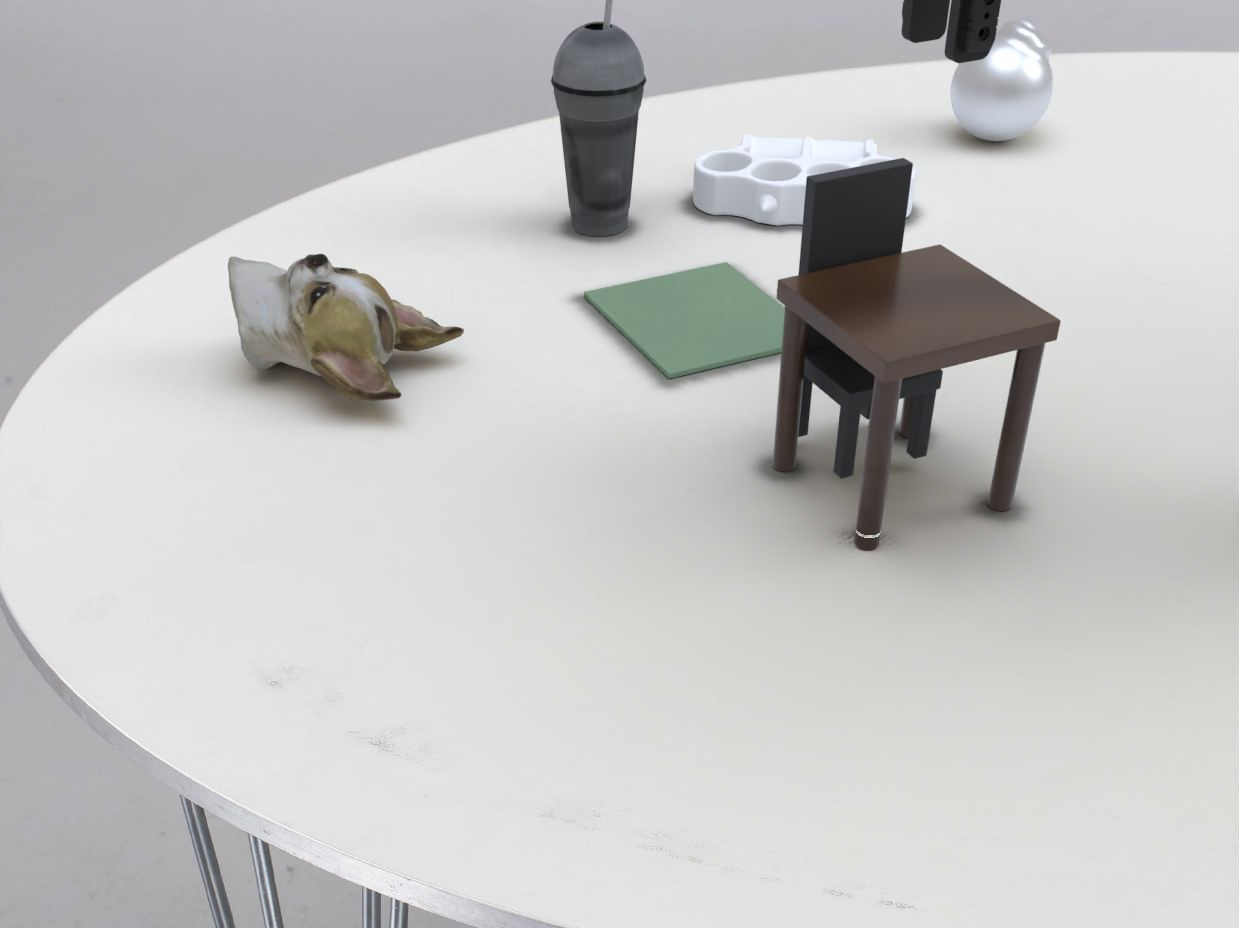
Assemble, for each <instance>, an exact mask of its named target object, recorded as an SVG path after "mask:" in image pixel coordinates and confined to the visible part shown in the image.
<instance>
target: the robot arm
mask: <svg viewBox="0 0 1239 928" xmlns="http://www.w3.org/2000/svg"><path fill="white" fill-rule="evenodd" d="M1001 5H1002V0H903V1H902V9H901V18H902V19H901V20H902V23H901V37H902V38H903V39H905V40H907V41H909V42H911V43H914V44H917V43H918V44H919V43H925V42H930V41H931V42H932V41H936V40H937V41H938V40H939V39H942V38H943V36H944V35H945V34H946V35H945V36H946V38H945V44H944V56H945V58H946V59H948V60H949V61H952V62H954V63H956V64H959V63H964V62H970V61H976V60H981V59H984V58H985V57H986V56H987V55H988V54H989V52H990V49H991V48H992V45H993V43H994V41H995V37H996V32H997V31H998V27H997V26H998V23H999V17H1000V11H1001Z"/></svg>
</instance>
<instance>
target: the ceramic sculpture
mask: <svg viewBox="0 0 1239 928" xmlns="http://www.w3.org/2000/svg"><path fill="white" fill-rule="evenodd" d="M227 272H228V288H229V291H230V298H231V302H232V307H233V311H234V315H235V318H236V321H237V332H238V335H239V339H240V350H241V352H242V354H243V356H244V358H245V359H246V360H247V361H248V362H249V363H250V364H251V365H252V366H253V367H255V368H257V369H260V370H267V369H271V368H272V367H273V366H275V365H276V364H278V363H283V364H286V365H288V366H292V367H295V368H298V369H302V370H304V371H306V372H308V373H311V374H313V375H315V376H318V377H321V378H323V380H324V381H325V382H326V383H327V384H328V385H329V386H330V387H332V388H333V390H335V391H336V392H337V393H339V394H340V395H342V396H344V397H345V398H347V399H349V400H352V401H359V402H360V401H361V402H363V401H364V402H378V401H379V402H380V401H387V400H397V399H400V398H401V396H402V393H401V391H399V389H398V388H397V387H396V386H395V384H394V381H393V379H392V378H391V376H390V373H389V370H388V369H387V367H386V365H385V364H386V363H387V362H388V361H389V359H390V358H391V356H392V355H393V351H394V350H397V351H401V352H421V351H425V350H429V349H432V348H435V347H438V346H441V345H443V344H446V343H448V342H451V341H453V340H455V339H458V338H460V337H462V335H463V334H464V333H465V329H464V328H462V327H459V326H453V325H452V326H442V325H440V324H439V323H438V322H436V321H435V320H434V319H432V318H430V317H429V316H428V317H426V316H425V315H423V313H422V312H421V311H420V310H418V309H416V308H415V307H413V306H410V305H406V304H402V303H401V302H399V301H398V300H396V299H392V298H391V296H390V295H389V293H388V292H387V290H386V288H385V287H384V286H383V285H382V284H381V283H380V282H379V280H377V279H376V278H374V277H373V276H372V275H370V274H368V273H364V272H363V273H362V272H359V271H358V270H357V269H355V268H351V267H350V268H349V267H334V266H333V264H332V262H331V261H330V259H329V258H328V257H327V255H326V254H324V253H317V254H307V255H306V256H305V257H304V258H299V259H296V260H294V262H293V263H292V264H291V265H290V266H288V268H287V269H284V268H282V267H279V266H278V265H275V264H273V263H270V262H268V261H258V260H251V259H243V258H242V257H239V256H230V257H229V258H228V262H227Z"/></svg>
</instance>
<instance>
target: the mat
mask: <svg viewBox="0 0 1239 928" xmlns="http://www.w3.org/2000/svg"><path fill="white" fill-rule="evenodd" d="M583 297H584V299H586V300H587V301H588V302H589V303H590V304H591V305H592V306H593V307H594V308H595V309H596V310H597V311H598V312H599V313H600V314H601V315H602V316H603V317H604V318H605V319H606V320H608V321H609V322H610V323H611V325H613V326H614V327H615V328H616V330H618V331H619V332H620V333H621V334H622V335H623V336H624V338H626V339H627V340H628V341H629V342H630V343H631V344H632V345H633V346H634V347H636V349H638V351H639V352H641V353H642V355H644V356H645V357H646V358H647V359H648V360H649V361H650V362H651V363H652V364H653V365H654V366H655V367H656V368H657V369H658V370H659V371H660V372H661V373H662V374H664V375H665V376H666V378H667V379H669V380H671V379H674V378H679V377H681V376H682V377H683V376H687V375H691V374H695V373H700V372H703V371H707V370H713V369H717V368H720V367H721V368H722V367H724V366H729V365H733V364H737V363H742V362H746V361H750V360H754V359H760V358H763V357H767V356H771V355H776V354H781V351H782V338H783V325H784V313H785V306H783V305H781V304H780V303H779V302H778V301H777V300H775V299H774V298H773V297H771V296H770V295H769V294H767V292H765V291H764V290H763V289H761V288H760V287H759V286H757V285H756V284H755V283H754V282H752V281H751V280H750V279H749V278H748V277H746V276H744V274H743V273H741V272H740V271H738V269H736V268H735V267H733V266H732V265H731V264H729V262H727V261H724V262H721V263H715V264H710V265H706V266H701V267H696V268H691V269H686V270H682V271H677V272H672V273H669V274H668V273H667V274H663V275H658V276H654V277H649V278H645V279H639V280H634V281H629V282H625V283H620V284H615V285H611V286H606V287H601V288H595V289H591V290H588V291H584V292H583Z"/></svg>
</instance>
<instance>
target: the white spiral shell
mask: <svg viewBox="0 0 1239 928" xmlns="http://www.w3.org/2000/svg"><path fill="white" fill-rule="evenodd" d="M1051 54H1052V44H1051V42H1050V41H1049V40H1048V38H1046V37H1045V36H1044V34H1043V33H1042V32H1041V30H1040V29H1039V27H1038V26H1037V25H1036V24H1034V23H1033V22H1032V20H1031V19H1028V18H1017V19H1012V20H1009V21H1007V22H1005V23H1004V24H1002V25H1001V26H1000V28H999V29H997V30H996V37H995V41H994V43H993V45H992V48H991V49H990V52H989V54H988V55H987V56H986V57H985V58H984V59H981V60H976V61H970V62H964V63H957V66H956V69H955V70H954V73H953V76H952V79H951V81H950V82H951V83H950V91H949V93H950V95H949V96H950V104H951V109H952V111H953V114H954V116H955V118H956V120H957V121H958V123H959V125H961V127H962V128H963V129H964V130H965V131H967V132H968V133H969V134H971V135H972V136H974V137H976V138H978V139H981V140H983V141H988V142H1005V141H1010V140H1013V139H1015V138H1016V139H1017V138H1018V137H1020V136H1022V135H1024V134H1026V133H1027V132H1029V131H1030V130H1031V129H1032V128H1033V127H1035V126H1036V125H1037V124H1038V123H1039V121H1040V120H1041V119H1042V118H1043V116H1044V115H1045V113H1046V111H1047V110H1048V107H1049V105H1050V102H1051V99H1052V95H1053V91H1054V76H1053V70H1052V68H1051V65H1050V61H1049V60H1050V57H1051Z"/></svg>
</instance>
